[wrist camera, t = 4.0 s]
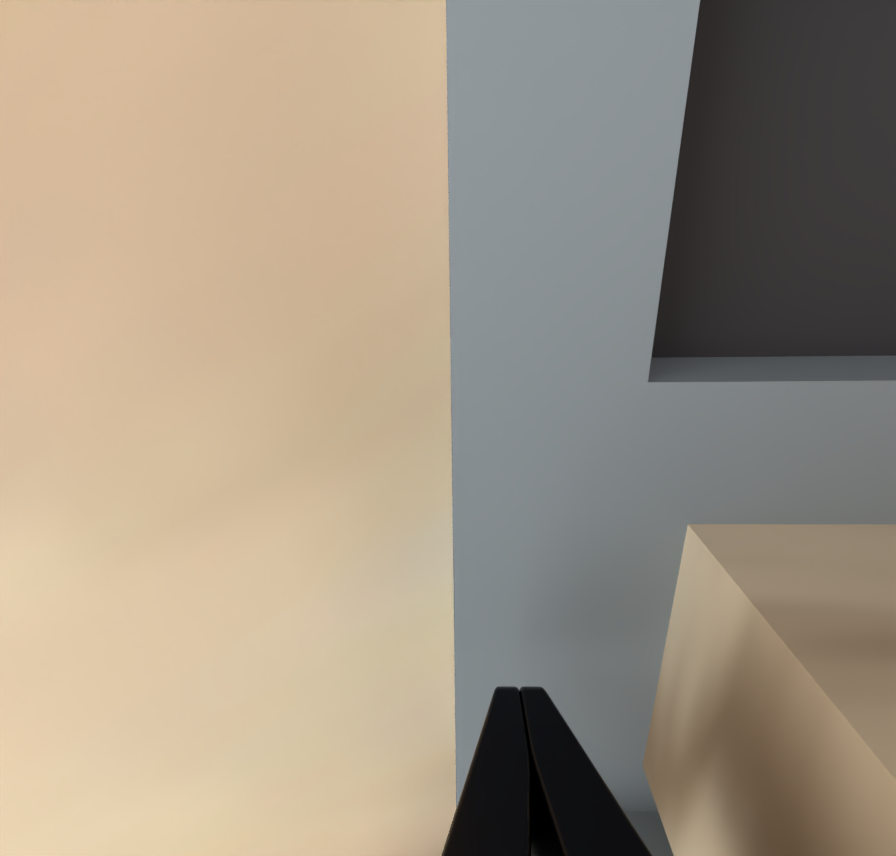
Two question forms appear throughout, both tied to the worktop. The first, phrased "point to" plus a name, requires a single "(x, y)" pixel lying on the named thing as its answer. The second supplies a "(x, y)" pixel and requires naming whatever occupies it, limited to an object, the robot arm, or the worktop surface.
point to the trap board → (655, 325)
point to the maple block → (779, 693)
